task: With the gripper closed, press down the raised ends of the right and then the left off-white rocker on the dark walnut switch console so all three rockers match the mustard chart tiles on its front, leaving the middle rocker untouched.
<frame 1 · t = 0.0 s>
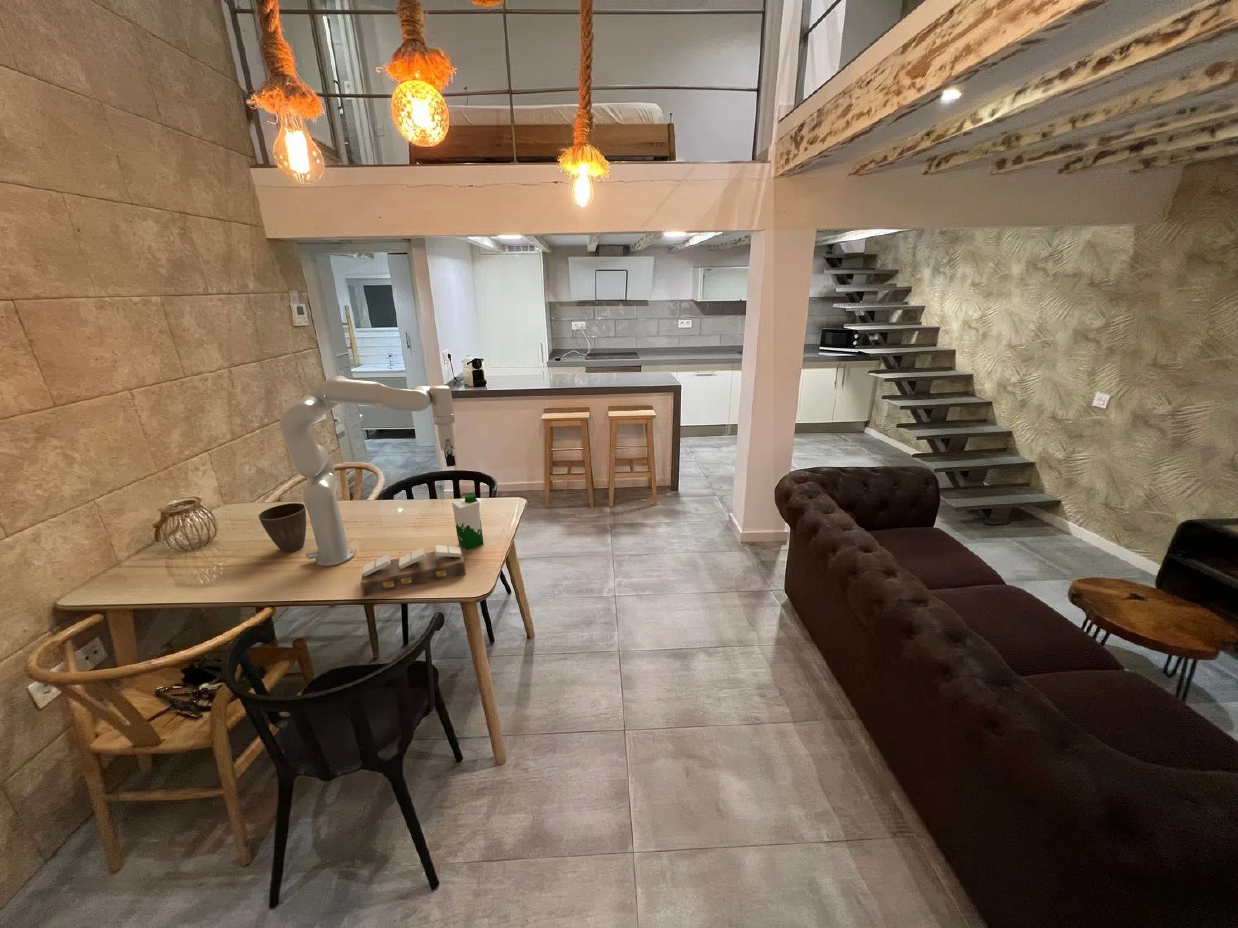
hand: (450, 462, 186), 31 cm above the table, fingers open, 9 cm apart
rocker B: (412, 557, 165), point 7 cm above the table, hinge at -18.0°
rocker A: (376, 564, 161), point 7 cm above the table, hinge at -18.0°
rocker C: (447, 550, 169), point 7 cm above the table, hinge at 18.0°
console: (416, 576, 167), on the table
milk carton: (471, 544, 188), on the table
plant pot: (292, 548, 188), on the table
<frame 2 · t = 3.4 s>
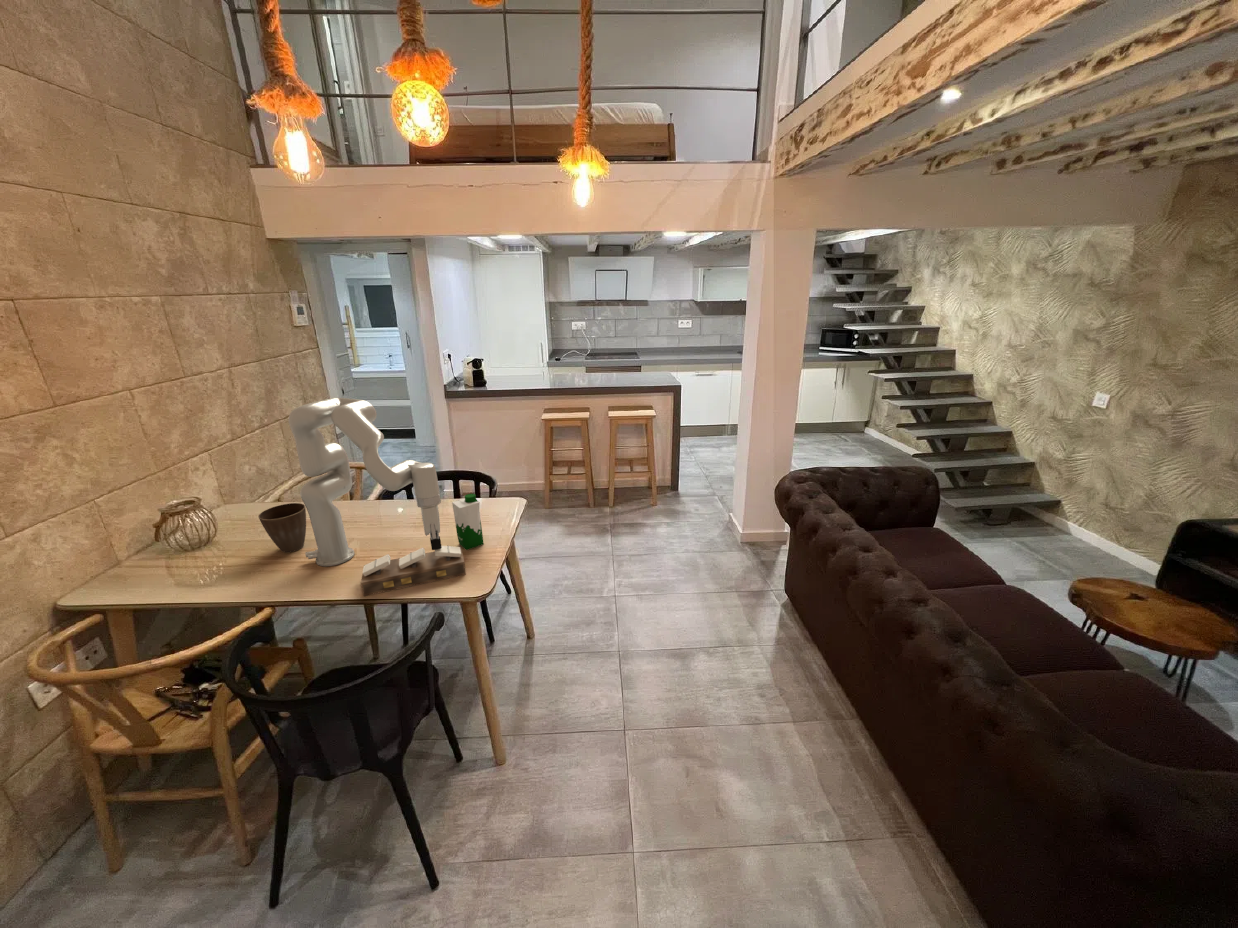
hand: (436, 548, 167), 9 cm above the table, fingers closed
rocker C: (447, 550, 169), point 7 cm above the table, hinge at 17.9°, touching gripper
everything else where it was.
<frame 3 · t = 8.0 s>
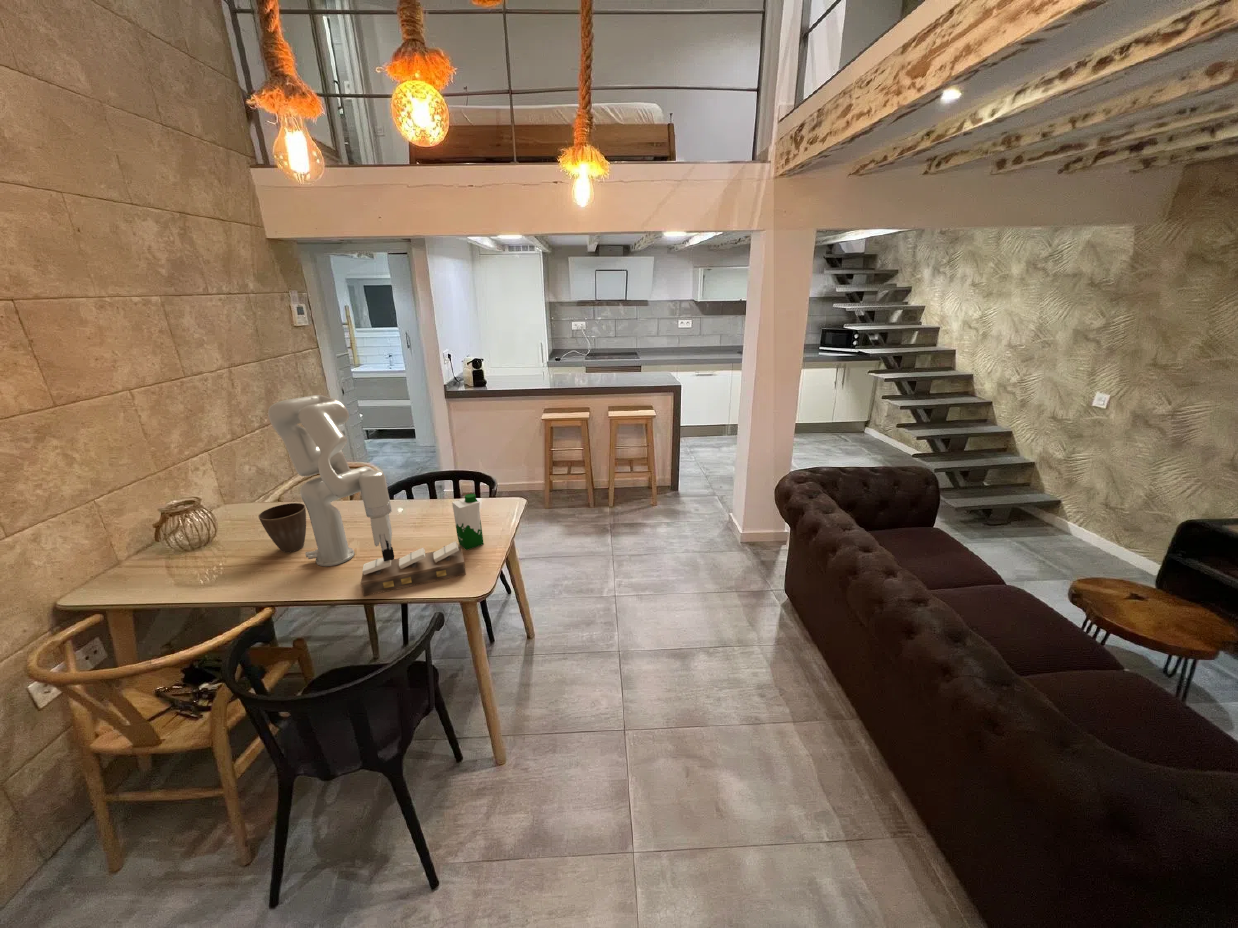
hand: (389, 559, 162), 9 cm above the table, fingers closed
rocker A: (377, 564, 161), point 7 cm above the table, hinge at -9.3°, touching gripper
rocker C: (445, 551, 169), point 7 cm above the table, hinge at -20.5°
everything else where it was.
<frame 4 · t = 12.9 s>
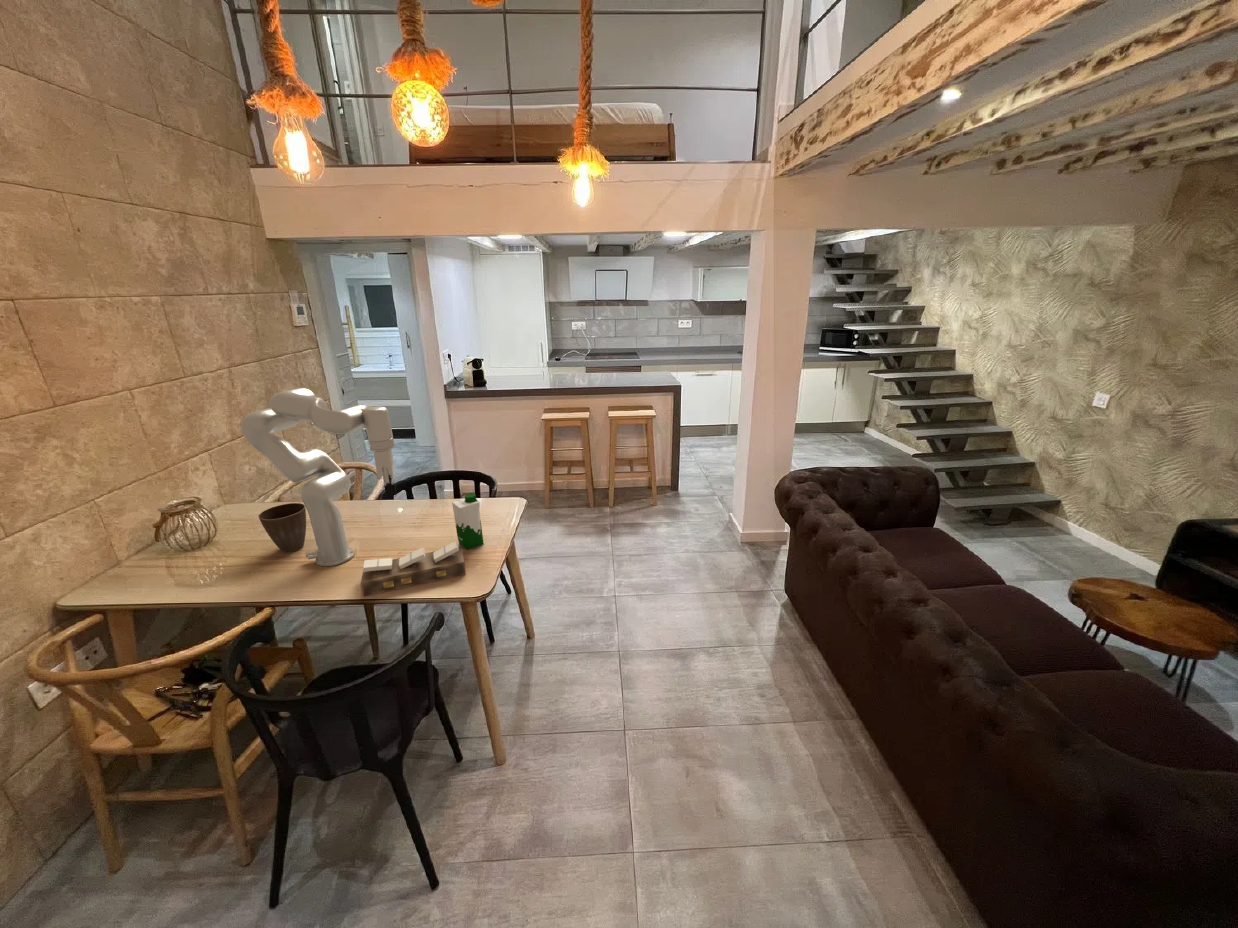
hand: (391, 494, 167), 27 cm above the table, fingers closed
rocker A: (378, 564, 161), point 7 cm above the table, hinge at 7.9°
everything else where it was.
at the end: rocker A at +8° (first picture: -18°); rocker C at -20° (first picture: +18°); rocker B at -18° (first picture: -18°) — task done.
